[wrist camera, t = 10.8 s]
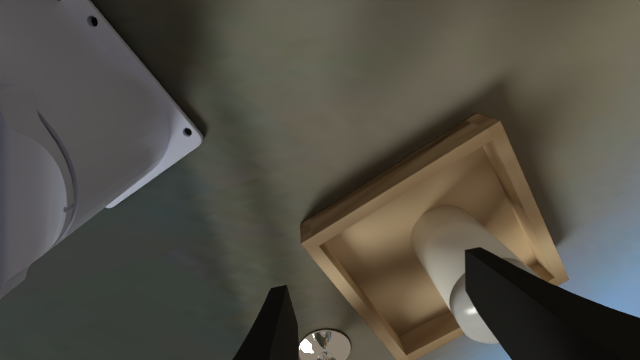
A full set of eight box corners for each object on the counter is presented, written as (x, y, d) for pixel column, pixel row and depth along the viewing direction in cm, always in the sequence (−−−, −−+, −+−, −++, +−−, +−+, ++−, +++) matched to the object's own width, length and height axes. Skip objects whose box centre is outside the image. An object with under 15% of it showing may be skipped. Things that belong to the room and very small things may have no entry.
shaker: (410, 209, 21) (461, 276, 15) (477, 201, 21) (557, 264, 15) (410, 265, 23) (455, 348, 16) (471, 258, 23) (541, 337, 16)
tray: (300, 224, 22) (300, 243, 19) (476, 113, 20) (500, 120, 17) (392, 339, 26) (401, 366, 24) (543, 258, 24) (569, 279, 22)
